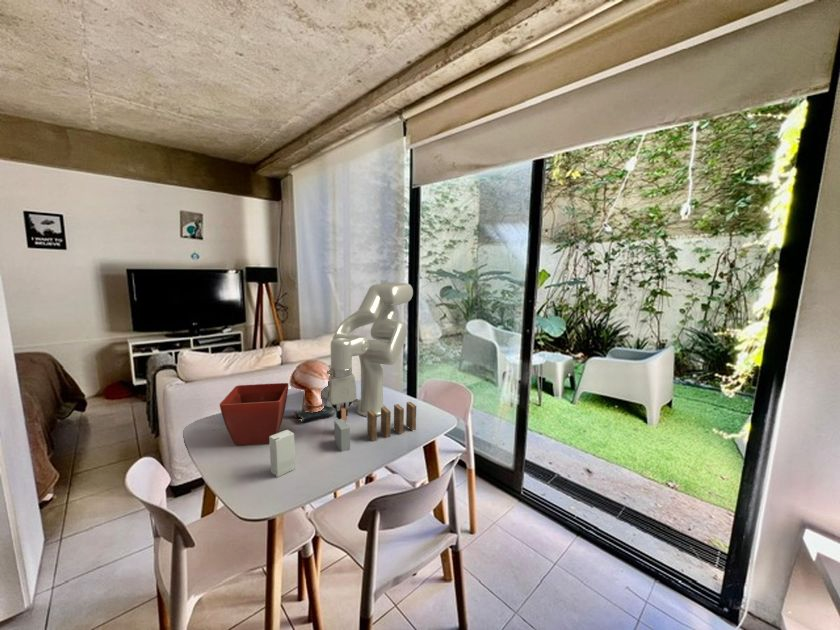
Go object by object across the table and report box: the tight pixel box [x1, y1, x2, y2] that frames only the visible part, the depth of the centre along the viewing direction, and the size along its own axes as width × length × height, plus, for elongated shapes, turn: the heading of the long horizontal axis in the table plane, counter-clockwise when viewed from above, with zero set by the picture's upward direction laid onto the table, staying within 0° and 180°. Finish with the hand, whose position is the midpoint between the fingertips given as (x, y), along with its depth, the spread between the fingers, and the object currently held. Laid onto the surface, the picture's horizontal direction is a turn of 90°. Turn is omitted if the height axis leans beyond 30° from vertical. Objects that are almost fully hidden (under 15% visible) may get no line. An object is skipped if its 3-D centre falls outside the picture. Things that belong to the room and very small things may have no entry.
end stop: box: [333, 418, 351, 453], centre depth 122 cm, size 3×8×8 cm, turn 30°
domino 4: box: [405, 401, 417, 432], centre depth 135 cm, size 2×5×10 cm, turn 31°
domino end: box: [340, 404, 347, 423], centre depth 131 cm, size 2×5×10 cm, turn 30°
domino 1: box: [366, 409, 378, 442], centre depth 127 cm, size 2×5×10 cm, turn 31°
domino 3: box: [393, 403, 405, 435], centre depth 133 cm, size 2×5×10 cm, turn 30°
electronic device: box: [294, 405, 335, 424], centre depth 144 cm, size 9×6×15 cm
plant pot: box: [219, 382, 289, 447], centre depth 126 cm, size 19×19×17 cm
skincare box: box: [269, 429, 296, 478], centre depth 106 cm, size 6×4×12 cm
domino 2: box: [380, 407, 391, 439], centre depth 130 cm, size 2×5×10 cm, turn 30°
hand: (341, 418), depth 131 cm, fingers closed on domino end, 1 cm apart
